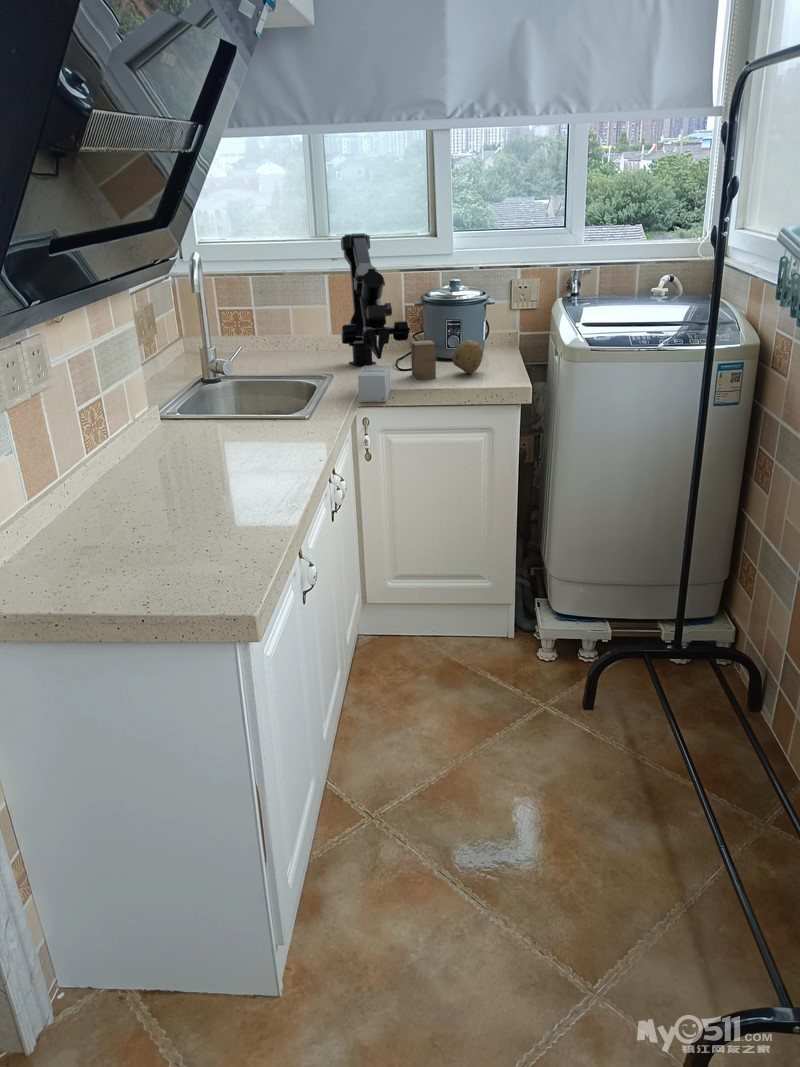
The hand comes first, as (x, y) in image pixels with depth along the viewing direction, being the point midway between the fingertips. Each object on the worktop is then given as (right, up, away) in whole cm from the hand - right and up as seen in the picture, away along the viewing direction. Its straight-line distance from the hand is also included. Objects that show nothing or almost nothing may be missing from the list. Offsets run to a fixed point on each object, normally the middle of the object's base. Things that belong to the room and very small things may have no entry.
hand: (379, 358), depth 230 cm
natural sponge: (+26, -1, +20) cm, 33 cm away
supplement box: (-1, -5, +2) cm, 5 cm away
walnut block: (+13, -2, +18) cm, 22 cm away
